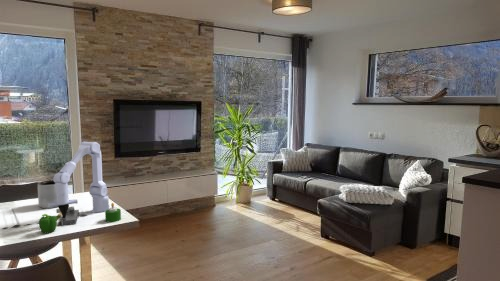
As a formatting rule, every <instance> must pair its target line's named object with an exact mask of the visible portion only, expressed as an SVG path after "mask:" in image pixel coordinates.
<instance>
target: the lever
mask: <svg viewBox="0 0 500 281" xmlns="http://www.w3.org/2000/svg"><path fill="white" fill-rule="evenodd" d="M74 210H75V206H69V208H68V210H67V212H73V211H74ZM55 212H56V214H59V213H60V212H61V211H60V209H59V208H56V210H55Z"/></svg>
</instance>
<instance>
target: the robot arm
mask: <svg viewBox="0 0 500 281" xmlns="http://www.w3.org/2000/svg"><path fill="white" fill-rule="evenodd" d="M86 155H89V156H90V157H91V165H92V167H91V169H92V171H91V172H92V182H91V183H90V185H89V189H88V191H89V195H90V196H91V197H92V198H91V199H92V212H91V213H93V214H95V213H102V212H104V213H105V211H106V210H108V209H109V208H110V204H109V195H107V194H108V188H107V184H106V183H105V182H104V181H103V163H102V162H103V161H102V160H103V157H102V151H101V144H100V143H98V142H96V141H82V142H81V143H80V144H79V145H78V149H77V151H76V152H75V153H74V155H73V157H72V158H71V160H70V161H67V162H65V163H64V165H63V167H61V169H59V172H57V173H55V174H54V176H53V178H52V180H53V181H54V182H55V185H56V192H57V202H54V203H49V204H48V207H49V208H48V209H52V208H51V207H55V208H57V209H60V211H61V214H62V216H61V218H62V219H63V218H66V213H67V210H68V208H69V207H70V205H74V204H76V205H77V204H78V201H79V200H78V199H69V198H70V197H69V184H68V183H69V182H70V179H71V175H72V174H73V173H74V171H75V170H76V168H77V164H78V163H79V162H80V161H81V160H82V158H83V157H84V156H86ZM56 206H58V207H56Z"/></svg>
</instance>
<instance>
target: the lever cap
mask: <svg viewBox="0 0 500 281" xmlns="http://www.w3.org/2000/svg"><path fill="white" fill-rule="evenodd" d="M55 216H56V219H57V221H58V220H60V218H62V214H61V212H60V213H57V215H55Z"/></svg>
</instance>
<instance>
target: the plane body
mask: <svg viewBox="0 0 500 281" xmlns="http://www.w3.org/2000/svg"><path fill="white" fill-rule="evenodd" d="M79 216H80V210H79V209H74V211H73V212H67V213H66V218H62V220H61V226H69V225H77V222H78V219H79Z"/></svg>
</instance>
